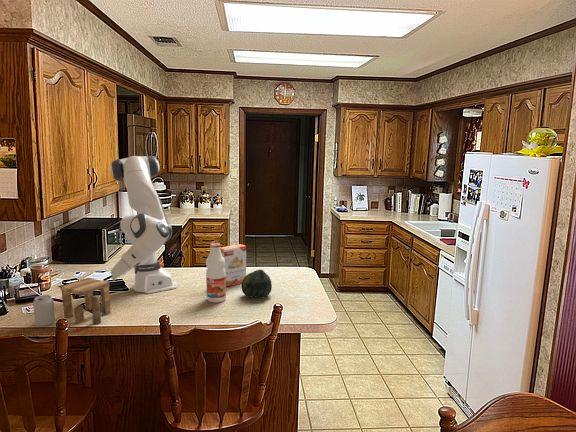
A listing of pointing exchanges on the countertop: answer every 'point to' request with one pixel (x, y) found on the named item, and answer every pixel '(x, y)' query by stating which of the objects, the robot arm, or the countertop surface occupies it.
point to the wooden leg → (96, 309)
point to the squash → (256, 284)
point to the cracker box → (234, 263)
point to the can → (44, 310)
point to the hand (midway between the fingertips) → (117, 276)
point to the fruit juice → (215, 275)
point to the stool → (85, 289)
